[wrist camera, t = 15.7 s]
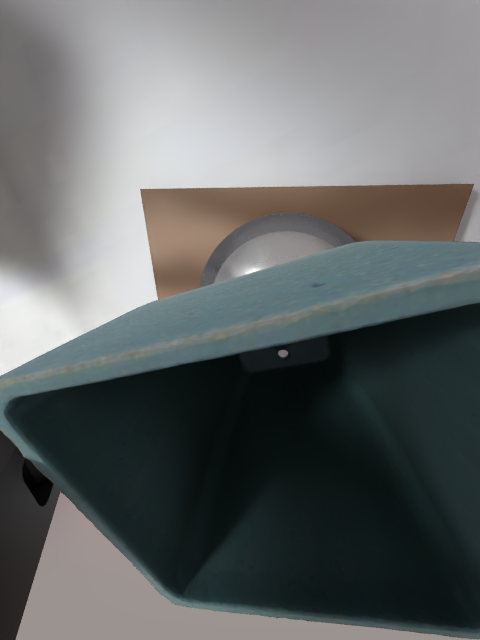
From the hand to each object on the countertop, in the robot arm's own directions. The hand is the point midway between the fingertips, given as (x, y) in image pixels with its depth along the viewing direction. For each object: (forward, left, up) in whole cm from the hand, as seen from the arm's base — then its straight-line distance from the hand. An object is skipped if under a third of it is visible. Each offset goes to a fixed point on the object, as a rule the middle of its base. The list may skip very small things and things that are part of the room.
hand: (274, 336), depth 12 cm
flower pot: (0, 0, -1) cm, 1 cm away
